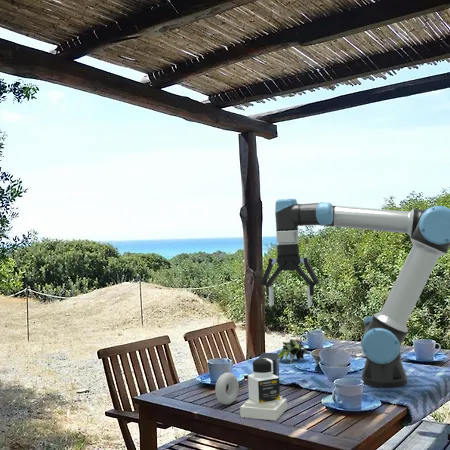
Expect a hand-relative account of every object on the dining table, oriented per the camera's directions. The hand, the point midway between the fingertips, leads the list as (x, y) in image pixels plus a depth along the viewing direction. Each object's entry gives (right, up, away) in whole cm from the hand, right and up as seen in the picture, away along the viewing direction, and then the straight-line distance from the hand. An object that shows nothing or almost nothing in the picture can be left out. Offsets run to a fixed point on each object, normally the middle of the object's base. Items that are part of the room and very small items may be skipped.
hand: (290, 305), depth 187 cm
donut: (-22, -30, -14) cm, 39 cm away
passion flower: (+6, -30, +39) cm, 49 cm away
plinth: (-11, -29, -24) cm, 39 cm away
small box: (-7, -29, +6) cm, 31 cm away
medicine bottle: (-11, -25, -24) cm, 36 cm away
